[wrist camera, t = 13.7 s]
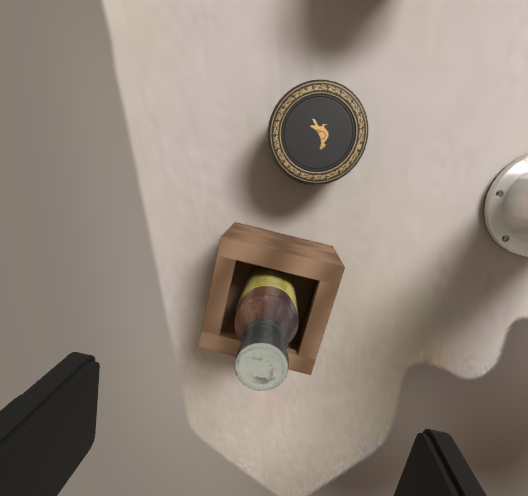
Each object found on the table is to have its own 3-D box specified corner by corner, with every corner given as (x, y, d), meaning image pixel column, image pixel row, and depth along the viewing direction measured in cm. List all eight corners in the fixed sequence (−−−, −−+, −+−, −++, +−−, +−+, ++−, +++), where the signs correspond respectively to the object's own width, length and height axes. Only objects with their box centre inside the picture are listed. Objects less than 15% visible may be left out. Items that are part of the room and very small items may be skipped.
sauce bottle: (277, 311, 44) (269, 425, 25) (238, 287, 44) (199, 383, 24) (304, 274, 42) (319, 363, 23) (264, 248, 42) (246, 318, 23)
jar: (312, 75, 37) (318, 52, 30) (372, 137, 38) (393, 130, 31) (253, 142, 39) (245, 136, 32) (312, 199, 40) (317, 206, 33)
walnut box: (332, 246, 42) (344, 267, 33) (306, 334, 45) (310, 375, 36) (234, 222, 42) (221, 236, 33) (215, 311, 45) (198, 346, 36)
